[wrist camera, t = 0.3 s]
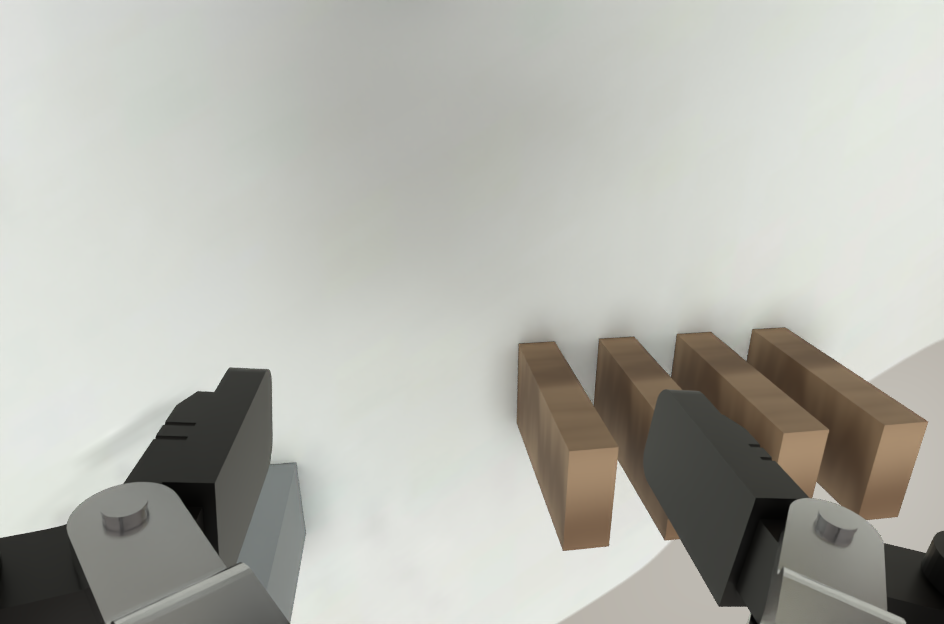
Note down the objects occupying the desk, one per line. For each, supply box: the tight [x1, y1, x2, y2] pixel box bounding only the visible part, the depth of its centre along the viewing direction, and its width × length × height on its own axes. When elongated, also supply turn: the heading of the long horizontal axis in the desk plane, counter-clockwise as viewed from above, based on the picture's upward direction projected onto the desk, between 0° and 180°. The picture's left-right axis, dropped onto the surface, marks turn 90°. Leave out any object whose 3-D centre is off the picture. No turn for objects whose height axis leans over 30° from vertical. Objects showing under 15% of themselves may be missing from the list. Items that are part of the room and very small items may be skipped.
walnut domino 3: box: [671, 332, 829, 498], centre depth 30 cm, size 5×2×10 cm, turn 0°
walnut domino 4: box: [747, 328, 928, 520], centre depth 31 cm, size 5×2×10 cm, turn 0°
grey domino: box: [236, 463, 306, 623], centre depth 30 cm, size 5×2×10 cm, turn 0°
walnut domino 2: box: [594, 337, 682, 540], centre depth 30 cm, size 5×2×10 cm, turn 1°
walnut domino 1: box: [517, 342, 619, 551], centre depth 29 cm, size 5×2×10 cm, turn 0°
